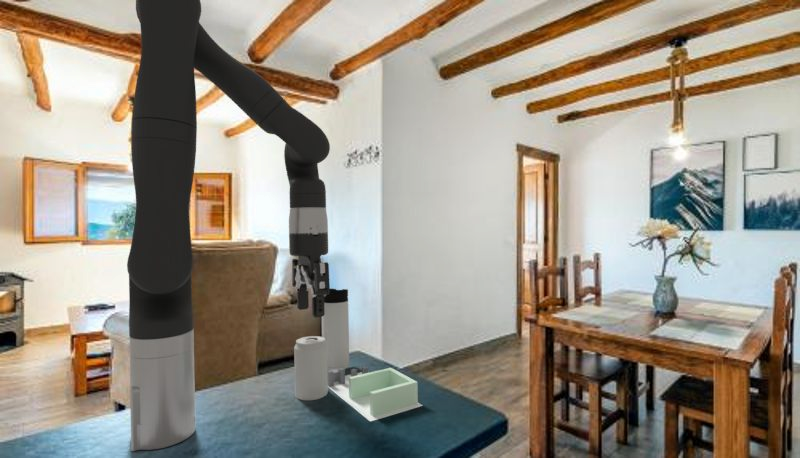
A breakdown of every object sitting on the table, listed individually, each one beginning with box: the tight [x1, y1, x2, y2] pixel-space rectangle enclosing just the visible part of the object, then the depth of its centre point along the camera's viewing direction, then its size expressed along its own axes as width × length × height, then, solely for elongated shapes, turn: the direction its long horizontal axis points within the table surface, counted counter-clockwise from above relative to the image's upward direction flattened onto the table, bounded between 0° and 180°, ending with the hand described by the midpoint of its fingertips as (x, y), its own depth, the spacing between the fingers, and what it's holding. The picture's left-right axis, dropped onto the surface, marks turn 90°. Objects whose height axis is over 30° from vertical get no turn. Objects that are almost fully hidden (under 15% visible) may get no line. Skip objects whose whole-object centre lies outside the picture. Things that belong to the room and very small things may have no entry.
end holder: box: [349, 367, 419, 417], centre depth 79 cm, size 10×10×4 cm
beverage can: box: [293, 335, 329, 401], centre depth 83 cm, size 6×6×12 cm
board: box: [327, 366, 424, 422], centre depth 83 cm, size 11×22×4 cm, turn 33°
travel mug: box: [321, 288, 350, 371], centre depth 98 cm, size 6×7×20 cm
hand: (310, 312), depth 83 cm, fingers open, 8 cm apart
